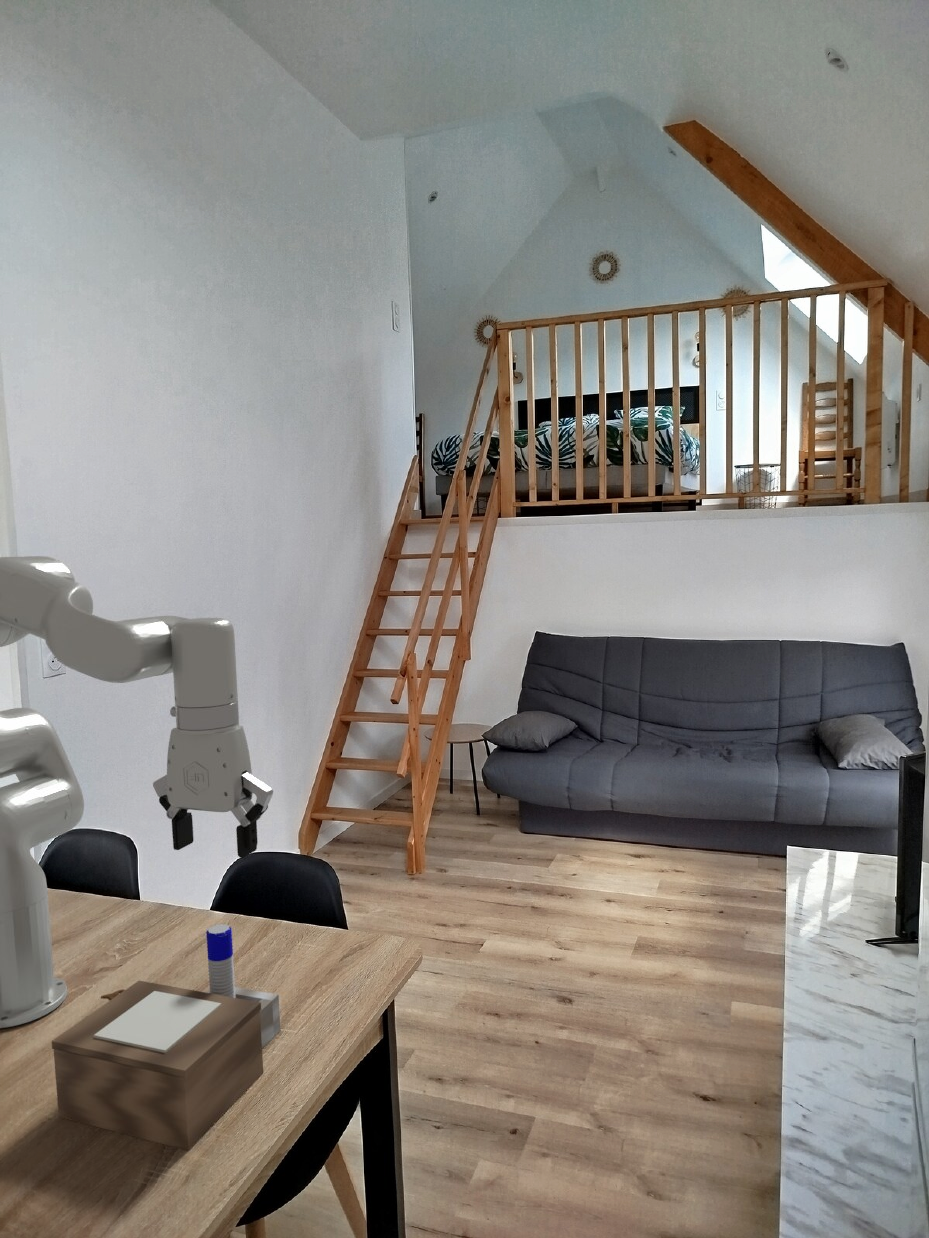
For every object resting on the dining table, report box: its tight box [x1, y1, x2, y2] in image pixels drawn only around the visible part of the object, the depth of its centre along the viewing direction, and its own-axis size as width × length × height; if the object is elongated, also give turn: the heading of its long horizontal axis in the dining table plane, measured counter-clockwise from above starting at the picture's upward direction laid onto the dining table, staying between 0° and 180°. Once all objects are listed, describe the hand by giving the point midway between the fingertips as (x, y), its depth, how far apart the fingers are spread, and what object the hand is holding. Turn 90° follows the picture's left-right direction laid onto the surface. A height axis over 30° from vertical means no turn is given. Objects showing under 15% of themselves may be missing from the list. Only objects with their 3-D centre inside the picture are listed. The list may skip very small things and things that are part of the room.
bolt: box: [205, 923, 236, 998], centre depth 108 cm, size 16×5×5 cm
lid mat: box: [94, 991, 222, 1053], centre depth 99 cm, size 10×10×1 cm
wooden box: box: [51, 980, 281, 1151], centre depth 103 cm, size 18×22×9 cm
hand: (215, 849), depth 107 cm, fingers open, 9 cm apart
